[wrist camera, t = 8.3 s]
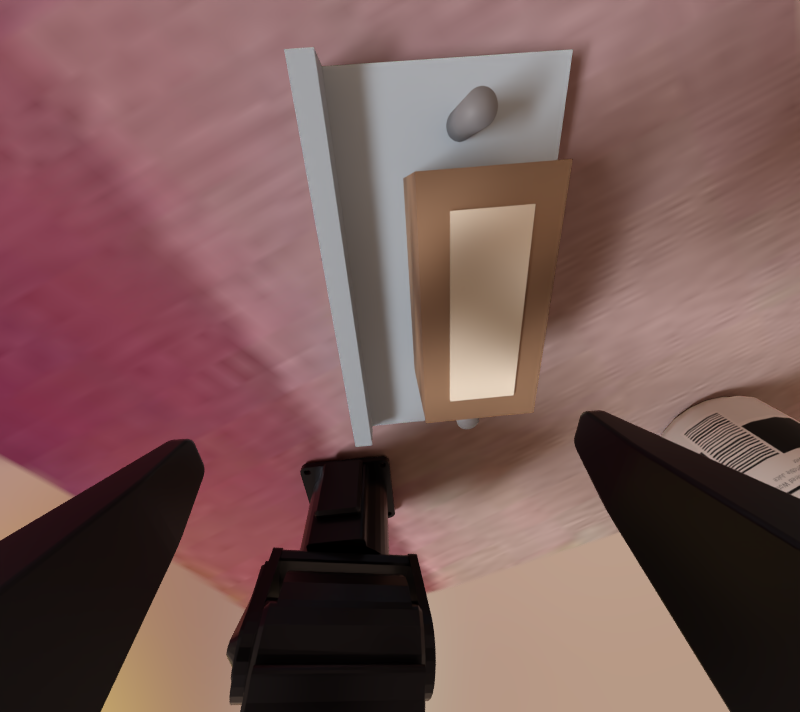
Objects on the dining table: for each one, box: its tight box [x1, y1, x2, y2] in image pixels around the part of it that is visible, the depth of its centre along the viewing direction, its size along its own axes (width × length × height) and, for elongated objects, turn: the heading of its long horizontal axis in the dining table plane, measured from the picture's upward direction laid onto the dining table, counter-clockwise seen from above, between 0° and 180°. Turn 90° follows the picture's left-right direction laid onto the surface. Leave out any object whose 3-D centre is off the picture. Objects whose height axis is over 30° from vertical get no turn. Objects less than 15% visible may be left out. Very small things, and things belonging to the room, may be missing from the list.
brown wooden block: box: [403, 159, 573, 423], centre depth 14 cm, size 10×5×5 cm, turn 4°
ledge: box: [284, 47, 573, 447], centre depth 16 cm, size 18×11×4 cm, turn 4°
